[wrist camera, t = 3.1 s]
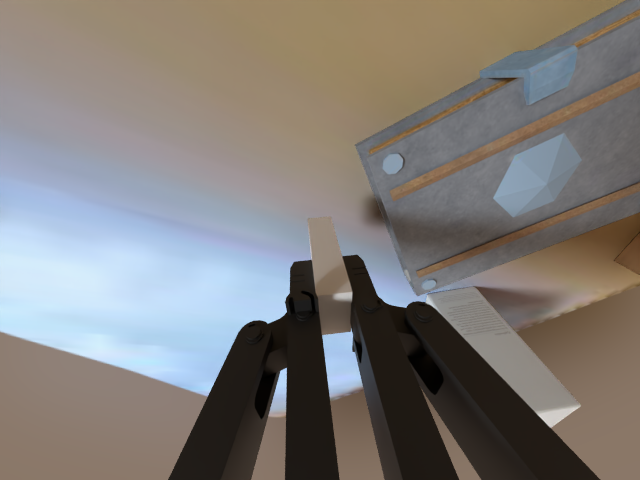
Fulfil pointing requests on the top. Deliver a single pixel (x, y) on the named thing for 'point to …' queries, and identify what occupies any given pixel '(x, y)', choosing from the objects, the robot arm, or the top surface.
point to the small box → (505, 352)
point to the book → (515, 155)
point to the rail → (631, 256)
